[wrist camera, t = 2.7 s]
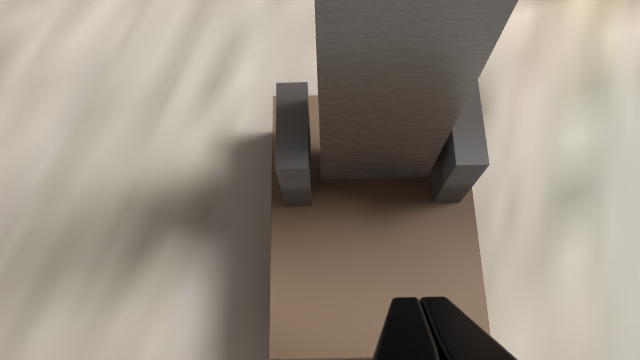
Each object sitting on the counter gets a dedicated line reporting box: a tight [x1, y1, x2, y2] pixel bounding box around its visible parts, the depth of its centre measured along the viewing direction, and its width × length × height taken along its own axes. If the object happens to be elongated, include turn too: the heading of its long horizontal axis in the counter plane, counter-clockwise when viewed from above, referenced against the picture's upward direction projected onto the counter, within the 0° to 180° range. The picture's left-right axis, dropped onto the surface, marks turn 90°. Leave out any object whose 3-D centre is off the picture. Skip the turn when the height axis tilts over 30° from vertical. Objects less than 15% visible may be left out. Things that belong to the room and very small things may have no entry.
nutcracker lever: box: [315, 0, 518, 179], centre depth 9 cm, size 3×3×12 cm
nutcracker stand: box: [269, 80, 490, 360], centre depth 15 cm, size 8×6×6 cm
